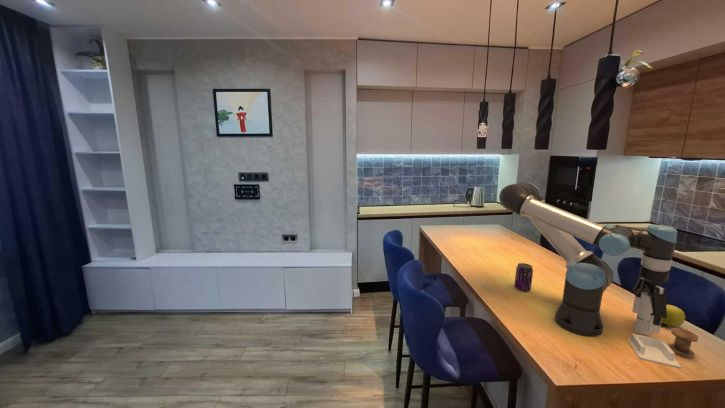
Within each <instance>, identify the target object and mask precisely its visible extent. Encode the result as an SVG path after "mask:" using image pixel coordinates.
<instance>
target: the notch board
mask: <svg viewBox="0 0 725 408" xmlns="http://www.w3.org/2000/svg"><path fill="white" fill-rule="evenodd" d="M627 342H628V344H629V345H630V347H631V348H632V350H633V351H634V353H635V354H636V355H637V357H638V359H639V360H644V361H647V362H651V363H656V364H657V363H658V364H660V365H661V364H662V365H665V366H669V367H674V368H678V369H682V366H681V365H680V363H679V362H678V361H677V360H676V359H675V355H676V354H675V353H674V352H673V351H672V350H671V348H670V347H669V346H668V345H669V344H667V343H666V341H665V340H664V339H660V338H656V337H650V336H648V335H643V334H637V333H631V336H630V339H629V338H627Z"/></svg>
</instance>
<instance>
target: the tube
mask: <svg viewBox="0 0 725 408" xmlns="http://www.w3.org/2000/svg"><path fill="white" fill-rule="evenodd" d="M651 313H653V312H652V306H651V300H650V296H648V292H642V293H641V298H640V303H639V308H638V313H636V319H635V323H634V324H635V325H634V328H633V329H634V332H637V333H638V334H639V335H642V336H650V335H651V332H649V331H648V326H649V321H650V316H651V315H650V314H651Z"/></svg>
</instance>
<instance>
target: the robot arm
mask: <svg viewBox="0 0 725 408" xmlns="http://www.w3.org/2000/svg"><path fill="white" fill-rule="evenodd" d="M498 198H499V199H498V200H499V203H500V204H501V206H502V207H503V208H505V210H508V211H509V212H511V213H514V214H517V215H519V216H521V217H526V218H527V219H529V221H530V222H531V223H532V225H534V226H535V228H536V229H537V230H538V231H539V232H540V233H541V235H542V236H543V237H544V238H545V239H546V240H547V241H548V242H549V244H550V245H551V247H553V248H554V250H556V251H557V253H558V254H559V255H560V256H561V257H562V259H563V260H564V261H565V267H566V271H565V277H564V279H565V280H564V285H563V286H564V287H563V292H562V299H561V300H562V301H561V303H559V306H558V307H557V309H556V310H555V312H554V320H555V323H556V324H558V325H559V326H560V327H561V328H562V329H565V330H567V331H568V332H570V333H573V334H577V335H579V336H580V335H581V336H585V337H598V336H602V334H603V331H604V324H603V321H602V316H601V306H602V300H603V296H604V293H605V291H606V290H607V289H608V287H610V285H612V283H613V281H614V277H615V276H614V269H613V268H612V266H611V264H610V263H608V262H607V261H605V259H601V258H599V257H598V256H597V255H596V254H595V253H594V252H593V251H589V250H586V248H584V247H583V246H582V245H581V243H579V241H578V240H577V239H579V240H581V241H584V242H586V243H588V244H591V245H594V246H595V247H598V248H599V249H600V250H601V252H602V253H603V254H605V255H608V256H611V257H617V256H621V255H623V254H625V253H626V252H628V251H629V250H630V248H631V249H636V250H642V251H643V252H642V254H641V260H640V265H641V266H640V267H639V273H638V274H639V276H638V277H639V278H638V280H637V282H636V283H635V285H634V287H633V290H632V293H634V300H633V306H632V313H634V314H637V313H638V308H639V303H640V298H641V293H642V292H648V296H650V300H651V306H652V312H653V313H651V314H650V315H651V316H650V321H649V326H648V331H649V332H650V333H654V334H660V329H661V325H662V323H661V321H662V318H667V309H666V305H667V288H664V287H662V283H667V282H669V277H670V270H671V267H672V264H674V261H673V259H674V258H673V257H674V253H675V249H676V246H677V245H676V244H677V238H678V230H677V229H676V228H675V227H674V226H673V227H672V226H670V225H664V224H648V225H647V228H638V227H632V226H626V225H619V224H611V223H610V224H609V223H608V224H606V225H601V224H599V223H597V222H595V221H591V220H589V219H586V218H584V217H582V216H579V215H576V214H574V213H571V212H570V211H569V212H568V211H566V210H564V209H562V208H559V207H556V206H553V205H551V204H549V203H546V200H545V199H544V198H543V197H542V196H541V192H540V188H538V186H537V185H535V184H534V183H531V182H525V181H524V182H522V181H521V182H518V183H512V184H509V185H506V186H504V187H503V188H502V190H500V191H499V195H498ZM576 238H577V239H576Z"/></svg>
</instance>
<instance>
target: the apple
mask: <svg viewBox="0 0 725 408" xmlns="http://www.w3.org/2000/svg"><path fill="white" fill-rule="evenodd" d="M666 309H667V318H662V321H661V325H665V326H668V327H679V326H682V325H683V324H684V323H685V320H686V315H685V312H684V311H683V310H682V309H681V308H679V307H677V306H675V305H672V304H666Z"/></svg>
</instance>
